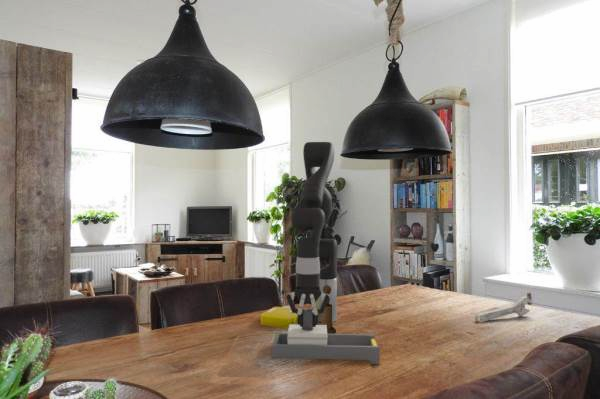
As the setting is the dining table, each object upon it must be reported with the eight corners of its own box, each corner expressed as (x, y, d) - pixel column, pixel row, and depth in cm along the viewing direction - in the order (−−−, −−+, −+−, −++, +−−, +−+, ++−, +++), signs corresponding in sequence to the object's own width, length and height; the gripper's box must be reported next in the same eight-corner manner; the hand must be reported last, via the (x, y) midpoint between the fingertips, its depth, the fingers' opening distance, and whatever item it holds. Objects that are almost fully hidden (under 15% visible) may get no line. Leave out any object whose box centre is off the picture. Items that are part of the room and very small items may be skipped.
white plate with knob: (289, 345, 135) (289, 305, 135) (326, 346, 134) (326, 306, 134) (287, 356, 125) (287, 313, 126) (327, 357, 125) (327, 313, 125)
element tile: (274, 316, 177) (274, 305, 177) (307, 319, 172) (307, 308, 172) (258, 325, 163) (258, 313, 163) (294, 330, 158) (294, 317, 158)
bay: (276, 348, 136) (276, 332, 136) (373, 349, 135) (373, 334, 135) (271, 362, 124) (272, 345, 124) (379, 364, 123) (379, 347, 123)
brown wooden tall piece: (320, 339, 145) (321, 288, 146) (315, 333, 152) (315, 284, 152) (338, 337, 147) (338, 287, 147) (332, 332, 153) (332, 283, 154)
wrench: (475, 328, 169) (529, 313, 179) (478, 329, 167) (533, 314, 178) (473, 309, 169) (528, 295, 179) (476, 310, 167) (531, 296, 178)
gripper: (330, 269, 133) (330, 323, 133) (286, 269, 134) (286, 322, 134) (330, 273, 126) (330, 330, 126) (284, 272, 127) (284, 329, 126)
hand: (307, 325), depth 130 cm, fingers closed on white plate with knob, 3 cm apart
